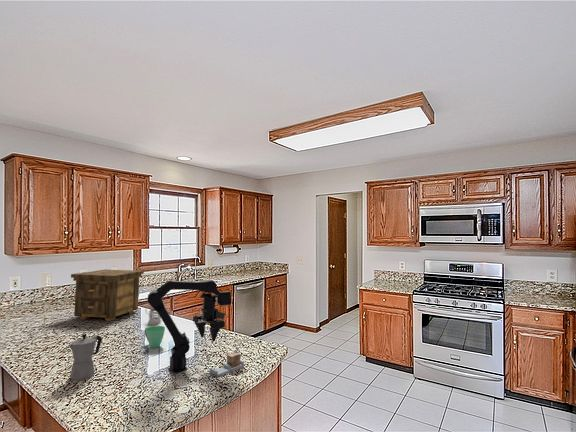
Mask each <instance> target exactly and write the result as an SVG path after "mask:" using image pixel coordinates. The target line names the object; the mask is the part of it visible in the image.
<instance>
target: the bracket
mask: <svg viewBox="0 0 576 432" xmlns="http://www.w3.org/2000/svg"><path fill="white" fill-rule="evenodd" d="M244 367H245V361H243V360H241V359H240V365H239V366H236V367H233V368H231V366H230V365H227V363H223V364H222V367H219V368H217V369H214V368H212V367H211V368H209V369H208V371H209V374H208V375H210V374H211V375H210V376H212V375H213V377H214V376H215V377H214V378H219V377H221V376H224V375H227V374H230V373H232V372H234V371H237V370H239V369H242V368H244ZM226 373H227V374H226ZM223 374H224V375H223ZM218 376H219V377H218Z"/></svg>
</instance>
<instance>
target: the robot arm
mask: <svg viewBox="0 0 576 432" xmlns="http://www.w3.org/2000/svg"><path fill="white" fill-rule="evenodd" d="M217 285H218V284H217V283H216V282H215V281H214V280H213V279H204V280H198V281H197V280H196V281H194V280H193V281H192V280H191V281H189V280H188V281H187V280H172V279H169V280H166V281H165V283H164V284H162V285H161V286H159V287H157V288H156V289H155V290H151V291H150V292H149V293H148V295H147V303H148V305H149V304H150V305H151V306H150V307H151V308H154V309H155V310H156V311H157V312H158V314H159V315H160V317H161V321H162V322H163V324H164V327H165V328H166V329H167V331H168V332H169V334H170V336H171V337H172V340H173V343H174V346H173V347H172V348H171V349H170V351H171V356H169V367H168V368H167V370H169V371H170V372H172V373H174V374H177V373H179V372H183V371H186V370H188V367H187V357H186V356H187V355H186V354H187V353H188V352H189V350H190V343H191V341H190V338H188V337H187V335H186V332H183V333H182V332H181V331H180V330H179V328H178V327H177V325H176V323H175V322H174V319H173V318H172V315H170V313H169V311H168V310H167V307H166V306H165V303H164V300H163V298H164V297H165V296H166V295H167V294H168V293H169V292H170V291H171V290H180V291H181V290H182V291H183V290H184V291H199V292H201V294H199V298H200V299H202V302H203V303H202V304H203V305H202V306H203V307H202V308H201V310H200V311H201V312H202V314H195V315H194V316H193V318H192V322H193V323H194V325H195V326H196V329H197V330H198V333H199V335H200V337H201V338H205V337H204V336H205V329H206V325H207V324H209V326H210V327H209V331H210V337H211V338H210V339H211V341H212V342H216V339H217V336H218V334H219V331H220V330H221V329H223V328H225V327H226V321H224V320H225V316H226V313H224V312H222V311H219V309H218V308H216V304H217V305H218V306H219V307H222V306H224V307H225V306H226V307H227V306H231V305H232V294H231V293H232V292H231V291H230V290H229V291H227V290H226V291H220V290H219V289H218V286H217ZM185 369H186V370H185Z"/></svg>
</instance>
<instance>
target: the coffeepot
mask: <svg viewBox="0 0 576 432" xmlns="http://www.w3.org/2000/svg"><path fill="white" fill-rule="evenodd" d="M102 340H103V338H102V337H101V336H100V335H94V336H92V337H87V334H86V333H84V334H82V338H80V339H75V340H74V341H72V342H71V344H70V345H69V346H68V348H70V349H71V352H72V358H73V363H72V367H71V371H70V373H69V374H70V375H69V379H70V380H71V381H83V380H87V379H89V378H92V377H93V376H94V375H95V367H94V366H95V365H94V359H93V356H96V355H98V353H99V350H100V348H101V344H102ZM96 342H97V344H96Z"/></svg>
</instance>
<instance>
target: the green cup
mask: <svg viewBox="0 0 576 432" xmlns="http://www.w3.org/2000/svg"><path fill="white" fill-rule="evenodd" d="M165 329H166V326H165V325H164V326H163V325H154V326H146V327H145V328H144V335H145V338H146V340H147V342H148V344H149V348H152V349H157V348H160V347H161V344H162V341H163V339H164V335H165V332H166V331H165Z"/></svg>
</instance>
